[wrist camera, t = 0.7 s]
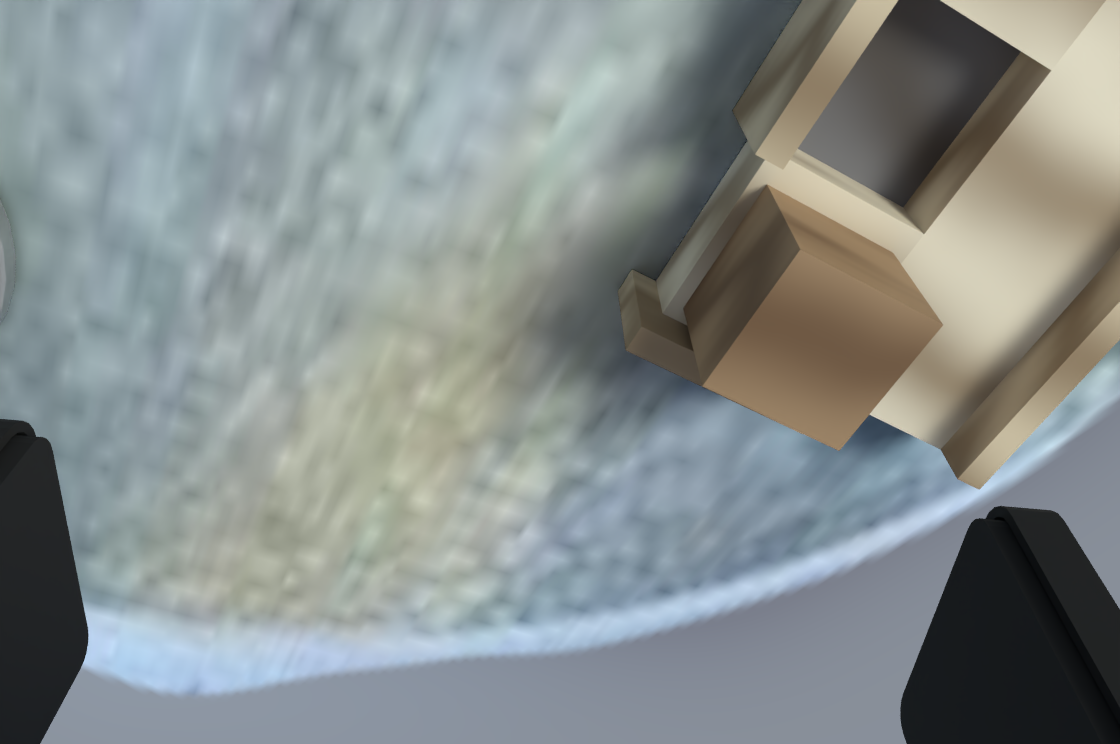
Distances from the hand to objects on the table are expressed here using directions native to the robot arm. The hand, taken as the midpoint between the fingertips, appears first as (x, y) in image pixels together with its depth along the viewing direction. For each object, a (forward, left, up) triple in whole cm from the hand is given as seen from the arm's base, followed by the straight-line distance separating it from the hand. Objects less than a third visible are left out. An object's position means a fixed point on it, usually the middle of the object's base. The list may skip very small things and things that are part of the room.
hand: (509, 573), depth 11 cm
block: (+3, -11, -23) cm, 25 cm away
